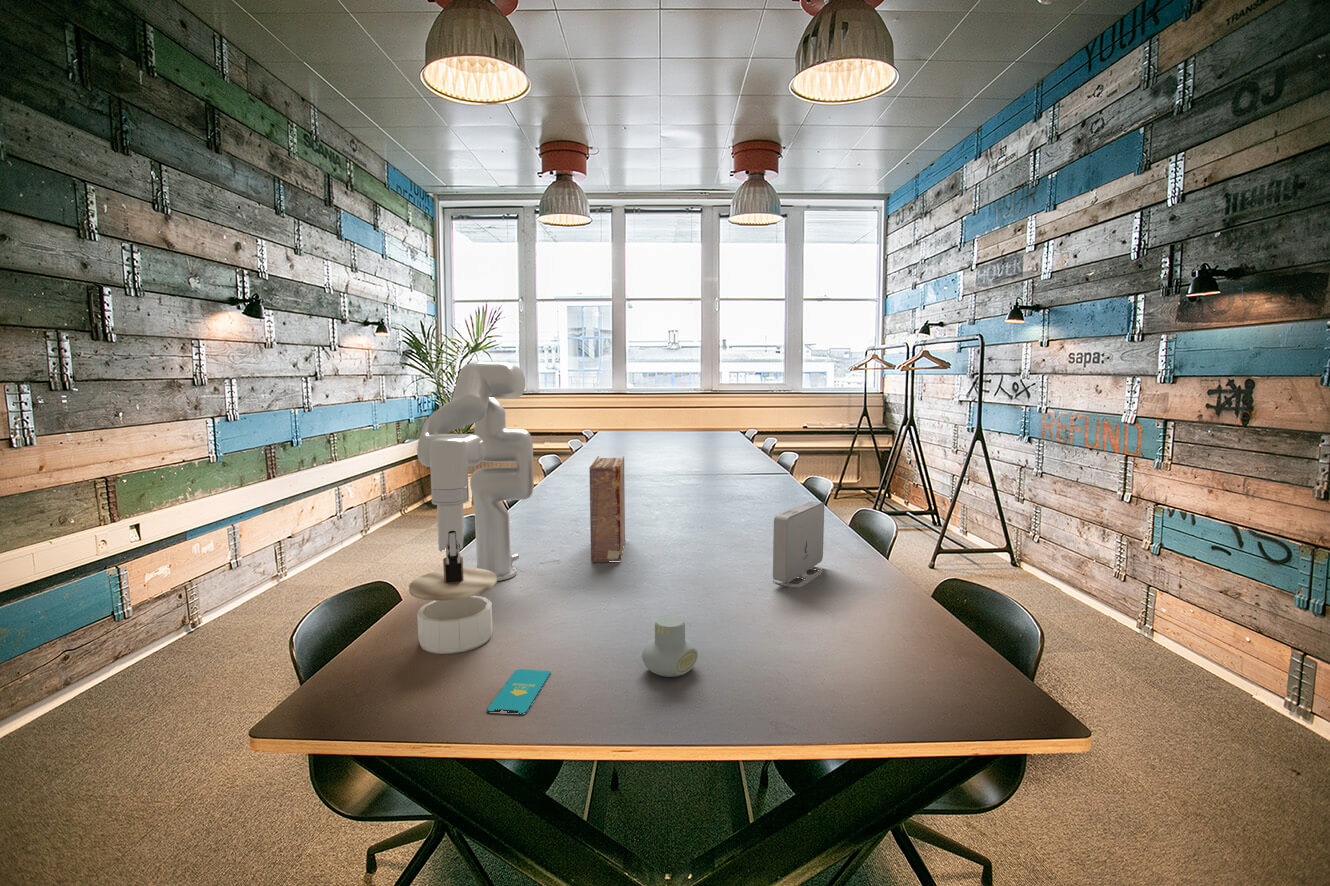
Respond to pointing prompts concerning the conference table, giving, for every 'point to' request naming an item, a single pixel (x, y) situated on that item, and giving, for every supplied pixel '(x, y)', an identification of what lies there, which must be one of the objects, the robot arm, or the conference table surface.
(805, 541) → the network device
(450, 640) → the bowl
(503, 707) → the smartphone
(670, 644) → the air freshener
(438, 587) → the lid
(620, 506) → the book
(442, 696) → the conference table surface
